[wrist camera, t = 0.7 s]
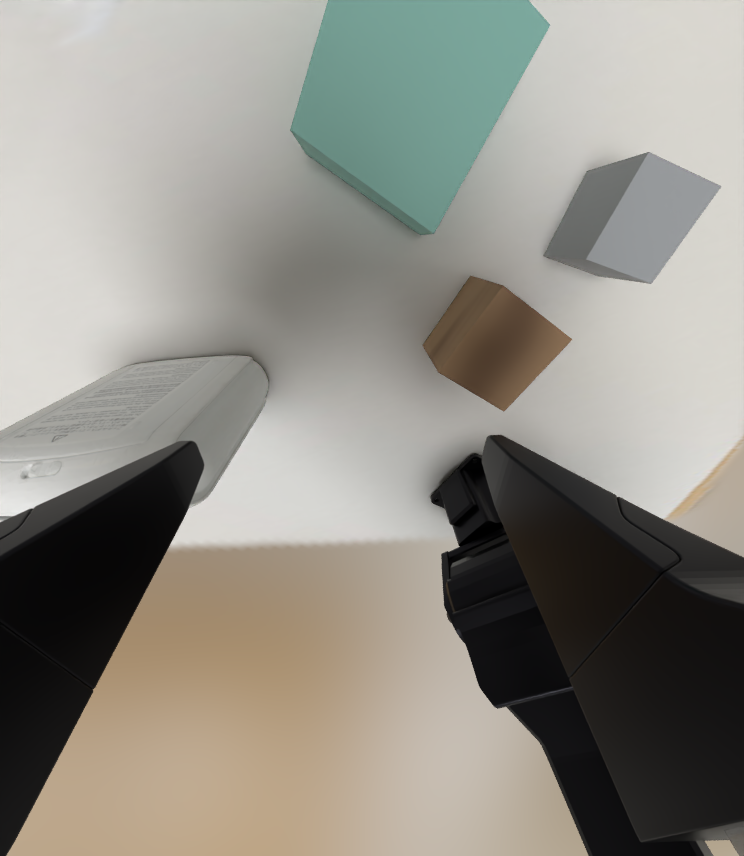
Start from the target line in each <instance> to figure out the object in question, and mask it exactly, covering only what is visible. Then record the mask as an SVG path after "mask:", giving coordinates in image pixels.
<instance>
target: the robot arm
mask: <svg viewBox="0 0 744 856" xmlns="http://www.w3.org/2000/svg"><path fill="white" fill-rule="evenodd" d="M474 459H476V460H474ZM473 460H474V461H473ZM203 470H204V461H203V458H202V456H201V453H200V451H199V448H198V446H197V444H196V443H195V442H194V441H178V442H176V443H174V444H171V445H169V446H167V447H165V448H163V449H160V450H158V451H156V452H154V453H152V454H149V455H147V456H145V457H143V458H140V459H138V460H136V461H134V462H132V463H129V464H127V465H125V466H123V467H121V468H118V469H116V470H114V471H112V472H110V473H107V474H105V475H103V476H101V477H99V478H96V479H94V480H92V481H90V482H88V483H85V484H83V485H81V486H79V487H77V488H74V489H72V490H70V491H68V492H66V493H63V494H61V495H59V496H57V497H55V498H52V499H50V500H48V501H46V502H44V503H41V504H39V505H37V506H35V507H34V509H33V508H31V509H28V510H26V511H24V512H21V513H19V514H17V515H15V516H13V517H10V518H8V519H6V520H4V521H1V522H0V856H6V855H7V853H8V852H9V850H10V849H11V847H12V845H13V843H14V842H15V840H16V838H17V836H18V834H19V832H20V830H21V829H22V827H23V825H24V823H25V821H26V819H27V817H28V815H29V813H30V811H31V810H32V808H33V806H34V804H35V802H36V800H37V798H38V796H39V794H40V792H41V790H42V789H43V786H44V785H45V782H46V781H47V779H48V777H49V775H50V773H51V771H52V769H53V767H54V766H55V764H56V762H57V760H58V758H59V756H60V754H61V752H62V750H63V748H64V746H65V745H66V743H67V741H68V739H69V737H70V735H71V733H72V731H73V729H74V727H75V725H76V724H77V721H78V719H79V718H80V716H81V714H82V712H83V710H84V708H85V706H86V704H87V703H88V701H89V699H90V697H91V695H92V693H93V690H92V689H94V688H95V687H96V685H97V683H98V681H99V679H100V677H101V675H102V673H103V671H104V670H105V668H106V666H107V664H108V662H109V660H110V658H111V656H112V654H113V652H114V651H115V649H116V647H117V645H118V643H119V641H120V639H121V637H122V635H123V633H124V631H125V630H126V628H127V626H128V624H129V622H130V620H131V618H132V616H133V614H134V612H135V610H136V609H137V607H138V605H139V603H140V601H141V599H142V597H143V595H144V593H145V591H146V589H147V588H148V586H149V584H150V582H151V580H152V578H153V576H154V574H155V572H156V570H157V568H158V566H159V565H160V563H161V561H162V559H163V557H164V555H165V553H166V551H167V549H168V548H169V546H170V544H171V542H172V540H173V538H174V536H175V534H176V532H177V530H178V528H179V527H180V525H181V523H182V521H183V519H184V517H185V515H186V513H187V510H188V508H189V506H190V503H191V501H192V498H193V496H194V493H195V491H196V488H197V486H198V483H199V480H200V478H201V475H202V473H203ZM431 502H432V503H433V504H435V505H438V506H440V507H442V508H445V510H446V513H447V516H448V519H449V522H450V524H451V525H452V526H453V529H454V532H455V535H456V538H457V541H458V545H459V546H460V547H458V548H456V549H454V550H452V551H450V552H448V551H447V552H445V553H442V555H441V556H442V577H443V593H444V606H445V609H446V611H447V617H448V620H449V621H450V622H451V623H452V624H453V626H454V628H455V630H456V632H457V634H458V635H459V637H460V638H461V640H462V641H463V642H464V643H465V644H466V647H467V650H468V652H469V655H470V658H471V662H472V665H473V668H474V671H475V675H476V678H477V681H478V684H479V686H480V688H481V690H482V691H483V693H484V694H485V695H486V697H487V698H488V699H489V701H490V702H491V703H492V705H493V706H494V707H496V708H497V709H498V708H502V707H507V708H508V709H509V710H510V711H511V712H512V713H513V714H514V716H515V717H516V718H517V719H518V720H519V721H520V722H521V723H522V724H523V725H524V726H525V727H526V728H527V729H528V730H529V731H530V732H531V734H532V735H533V736H534V737H535V738H536V739H537V740H538V741H539V742H540V744H541V745H542V748H543V750H544V752H545V754H546V756H547V758H548V761H549V763H550V765H551V768H552V770H553V772H554V775H555V777H556V780H557V782H558V784H559V787H560V789H561V791H562V794H563V796H564V798H565V801H566V803H567V806H568V808H569V810H570V812H571V815H572V817H573V819H574V822H575V824H576V827H577V829H578V831H579V834H580V836H581V839H582V841H583V843H584V846H585V848H586V850H587V853H588V855H589V856H713V854H712V853H711V851H710V849H709V848H708V846H707V844H706V843H705V840H707V841H708V840H730V841H731V843H732V844H733V846H734V848H735V849H736V851H737V853H738V854H739V856H744V557H742V556H739V555H737V554H735V553H733V552H731V551H729V550H727V549H725V548H722V547H720V546H718V545H716V544H714V543H712V542H710V541H707V540H705V539H703V538H701V537H699V536H697V535H695V534H692V533H690V532H688V531H686V530H684V529H682V528H680V527H678V526H675V525H674V524H672V523H670V522H667V521H665V520H663V519H661V518H659V517H657V516H655V515H653V514H651V513H649V512H647V511H645V510H643V509H642V508H640V507H638V506H636V505H634V504H632V503H630V502H628V501H626V500H624V499H622V498H620V497H616V495H615V494H613V493H611V492H609V491H607V490H605V489H603V488H601V487H599V486H598V485H596V484H594V483H592V482H590V481H588V480H586V479H584V478H582V477H580V476H578V475H577V474H575V473H573V472H571V471H569V470H567V469H565V468H563V467H561V466H559V465H558V464H556V463H554V462H552V461H550V460H548V459H546V458H544V457H542V456H540V455H539V454H537V453H535V452H533V451H531V450H529V449H527V448H525V447H523V446H521V445H520V444H518V443H516V442H514V441H512V440H510V439H508V438H506V437H504V436H502V435H490V436H488V437H487V439H486V442H485V446H484V450H483V455H482V456H480V455H478V454H472V455H471V456H469V457H468V458H467V459H466V460H465V461H464V463H463V464H462V465H461V466H460V467H459V468H458V469H457V470H456V471H455V472H454V473H453V474H452V475H451V476H450V477H449V478H448V479H447V480H446V481H445V482H444V483H443V484H442V485H441V486H440V487H439V488H438V489H437V490H436V491H435V492H434V494H433V495H432V496H431Z"/></svg>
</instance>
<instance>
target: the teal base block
mask: <svg viewBox="0 0 744 856" xmlns="http://www.w3.org/2000/svg"><path fill="white" fill-rule="evenodd" d="M549 26H550V24H549V23H548V22H547V21H546V20H545V19H544V17H543V16H542V15H541V14H540V13H539V12H538V11H537V9H536V8H535V7H534V6H533V5H532V4H531V3H530V2H529V0H328V3H327V6H326V10H325V13H324V17H323V20H322V23H321V27H320V30H319V34H318V37H317V40H316V44H315V47H314V51H313V54H312V57H311V61H310V64H309V68H308V71H307V75H306V78H305V81H304V85H303V88H302V92H301V95H300V98H299V102H298V105H297V109H296V112H295V115H294V119H293V122H292V126H291V129H290V130H291V131H292V133H293V135H294V136H295V138H296V139H297V141H298V142H299V144H300V145H301V147H302V148H303V150H304V151H305V153H306V154H307V155H309V156H310V157H311V158H313V159H314V160H316V161H317V162H318V163H320V164H321V165H323V166H324V167H325V168H327V169H328V170H330V171H331V172H333V173H334V174H335V175H337V176H338V177H340V178H341V179H342V180H344V181H345V182H347V183H348V184H349V185H351V186H352V187H354V188H355V189H356V190H358V191H359V192H361V193H362V194H363V195H365V196H366V197H368V198H369V199H370V200H372V201H373V202H375V203H376V204H377V205H379V206H380V207H382V208H383V209H385V210H386V211H387V212H389V213H390V214H392V215H393V216H394V217H396V218H397V219H399V220H400V221H401V222H403V223H404V224H406V225H407V226H408V227H410V228H411V229H413V230H414V231H415V232H417V233H418V234H420V235H425V234H434V233H435V231H436V229H437V227H438V225H439V224H440V222H441V220H442V218H443V216H444V215H445V213H446V211H447V209H448V207H449V206H450V204H451V202H452V200H453V198H454V197H455V195H456V193H457V191H458V190H459V188H460V186H461V184H462V182H463V181H464V179H465V177H466V175H467V173H468V172H469V170H470V168H471V166H472V164H473V163H474V161H475V159H476V157H477V155H478V154H479V152H480V150H481V148H482V147H483V145H484V143H485V141H486V139H487V138H488V136H489V134H490V132H491V130H492V129H493V127H494V125H495V123H496V121H497V120H498V118H499V116H500V114H501V112H502V111H503V109H504V107H505V105H506V104H507V102H508V100H509V98H510V96H511V95H512V93H513V91H514V89H515V87H516V86H517V84H518V82H519V80H520V78H521V77H522V75H523V73H524V71H525V69H526V68H527V66H528V64H529V62H530V61H531V59H532V57H533V55H534V53H535V52H536V50H537V48H538V46H539V44H540V43H541V41H542V39H543V37H544V35H545V34H546V32H547V30H548V28H549Z"/></svg>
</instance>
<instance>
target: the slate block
mask: <svg viewBox="0 0 744 856" xmlns="http://www.w3.org/2000/svg"><path fill="white" fill-rule="evenodd" d="M720 188H721V186H720V185H718V184H715V183H713V182H711V181H709V180H707V179H705V178H703V177H701V176H699V175H696V174H694V173H692V172H690V171H688V170H686V169H684V168H682V167H680V166H677V165H675V164H673V163H671V162H669V161H667V160H665V159H663V158H661V157H658V156H656V155H654V154H652V153H650V152H647V153H644V154H641V155H638V156H634V157H631V158H628V159H625V160H622V161H618V162H615V163H612V164H609V165H606V166H602V167H599V168H596V169H593V170H590V171H587V172H586V174H585V176H584V178H583V180H582V182H581V184H580V186H579V188H578V190H577V192H576V194H575V195H574V197H573V199H572V201H571V203H570V205H569V207H568V209H567V211H566V213H565V215H564V217H563V219H562V221H561V223H560V225H559V227H558V228H557V230H556V232H555V234H554V236H553V238H552V240H551V242H550V244H549V246H548V248H547V250H546V252H545V254H544V256H545V257H548V258H550V259H553V260H556V261H558V262H561V263H564V264H567V265H569V266H572V267H575V268H578V269H580V270H583V271H586V272H588V273H591V274H594V275H597V276H601V277H608V278H615V279H622V280H629V281H636V282H643V283H649V284H652V282H653V281H654V280H655V278H656V277H657V275H658V274H659V273H660V271H661V270H662V268H663V267H664V266H665V264H666V263H667V261H668V260H669V259H670V257H671V256H672V255H673V253H674V252H675V250H676V249H677V248H678V246H679V245H680V243H681V242H682V241H683V239H684V238H685V236H686V235H687V234H688V232H689V231H690V229H691V228H692V227H693V225H694V224H695V222H696V221H697V220H698V218H699V217H700V215H701V214H702V213H703V211H704V210H705V209H706V207H707V206H708V204H709V203H710V202H711V200H712V199H713V197H714V196H715V195H716V193H717V192H718V190H719V189H720Z"/></svg>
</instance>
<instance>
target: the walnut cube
mask: <svg viewBox="0 0 744 856" xmlns="http://www.w3.org/2000/svg"><path fill="white" fill-rule="evenodd" d="M571 340H572V339H571V338H570V337H569V336H567V335H566V334H565V333H563V332H562V331H561V330H560V329H558V328H557V327H556V326H554V325H553V324H552V323H551V322H549V321H548V320H547V319H545V318H544V317H543V316H542V315H540V314H539V313H538V312H536V311H535V310H534V309H533V308H531V307H530V306H529V305H527V304H526V303H525V302H524V301H522V300H521V299H520V298H518V297H517V296H516V295H515V294H513V293H512V292H511V291H509V290H508V289H507V288H506V287H504V286H503V285H499V284H496V283H493V282H489V281H486V280H483V279H480V278H476V277H473V276H470V277H469V279H468V280H467V282H466V283H465V284H464V286H463V287H462V289H461V290H460V292H459V293H458V295H457V296H456V298H455V299H454V300H453V302H452V303H451V305H450V306H449V308H448V309H447V311H446V312H445V314H444V315H443V317H442V318H441V319H440V321H439V322H438V324H437V325H436V327H435V328H434V330H433V331H432V333H431V334H430V335H429V337H428V338H427V340H426V341H425V343H424V344H423V347H424V349H425V350H426V352H427V354H428V356H429V357H430V359H431V361H432V362H433V364H434V366H435V367H436V369H437V371H438V372H439V373H440V374H442V375H444V376H445V377H447V378H449V379H450V380H452V381H454V382H455V383H457V384H459V385H460V386H462V387H464V388H465V389H467V390H469V391H470V392H472V393H474V394H475V395H477V396H479V397H480V398H482V399H484V400H485V401H487V402H489V403H490V404H492V405H494V406H495V407H497V408H499V409H500V410H502V411H505V410H506V409H507V408H508V407H509V406H510V405H511V404H512V403H513V402H514V400H515V399H516V398H517V397H518V396H519V395H520V394H521V393H522V392H523V391H524V390H525V389H526V388H527V387H528V386H529V385H530V384H531V383H532V381H533V380H534V379H535V378H536V377H537V376H538V375H539V374H540V373H541V372H542V371H543V370H544V369H545V368H546V367H547V366H548V365H549V364H550V362H551V361H552V360H553V359H554V358H555V357H556V356H557V355H558V354H559V353H560V352H561V351H562V350H563V349H564V348H565V347H566V346H567V345H568V343H569V342H570V341H571Z"/></svg>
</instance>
